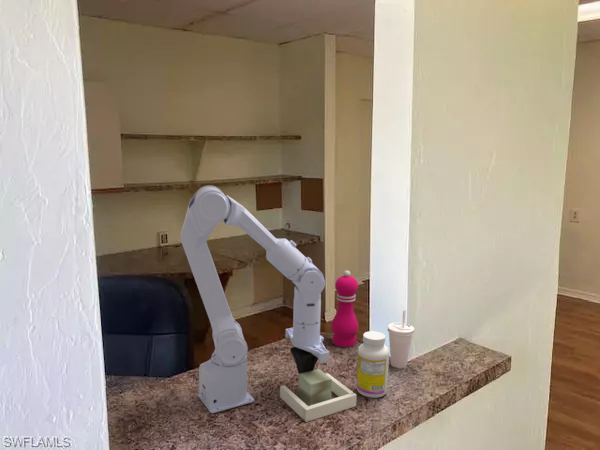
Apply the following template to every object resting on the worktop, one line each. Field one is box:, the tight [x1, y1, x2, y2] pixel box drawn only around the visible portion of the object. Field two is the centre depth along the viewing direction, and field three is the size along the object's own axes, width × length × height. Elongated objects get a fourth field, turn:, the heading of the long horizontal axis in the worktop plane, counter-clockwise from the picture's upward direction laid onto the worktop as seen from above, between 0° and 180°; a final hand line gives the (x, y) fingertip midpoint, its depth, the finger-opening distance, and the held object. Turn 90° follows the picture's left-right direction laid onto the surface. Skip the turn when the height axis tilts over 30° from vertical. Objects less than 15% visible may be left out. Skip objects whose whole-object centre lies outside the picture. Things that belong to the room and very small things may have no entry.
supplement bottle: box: [356, 330, 390, 399], centre depth 105 cm, size 7×7×13 cm
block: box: [297, 368, 332, 406], centre depth 102 cm, size 5×5×5 cm
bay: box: [279, 372, 357, 423], centre depth 101 cm, size 12×10×2 cm
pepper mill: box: [330, 270, 359, 348], centre depth 129 cm, size 7×7×20 cm
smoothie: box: [386, 309, 415, 369], centre depth 118 cm, size 6×6×14 cm
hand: (305, 380), depth 105 cm, fingers closed
